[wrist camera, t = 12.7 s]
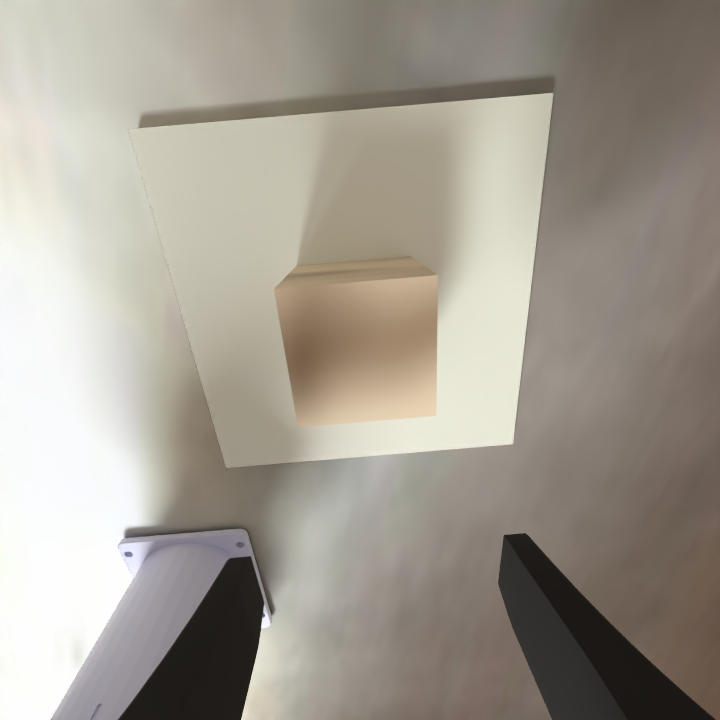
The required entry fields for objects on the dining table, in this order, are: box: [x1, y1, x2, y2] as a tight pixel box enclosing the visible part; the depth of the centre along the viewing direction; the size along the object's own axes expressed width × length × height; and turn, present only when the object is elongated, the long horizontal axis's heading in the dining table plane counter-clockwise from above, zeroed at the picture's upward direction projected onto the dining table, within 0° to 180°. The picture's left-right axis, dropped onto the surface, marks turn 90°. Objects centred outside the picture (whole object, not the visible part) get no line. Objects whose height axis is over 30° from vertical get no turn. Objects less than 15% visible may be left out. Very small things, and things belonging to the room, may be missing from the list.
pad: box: [128, 93, 553, 468], centre depth 16 cm, size 16×16×1 cm
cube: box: [274, 256, 438, 427], centre depth 14 cm, size 5×5×5 cm
